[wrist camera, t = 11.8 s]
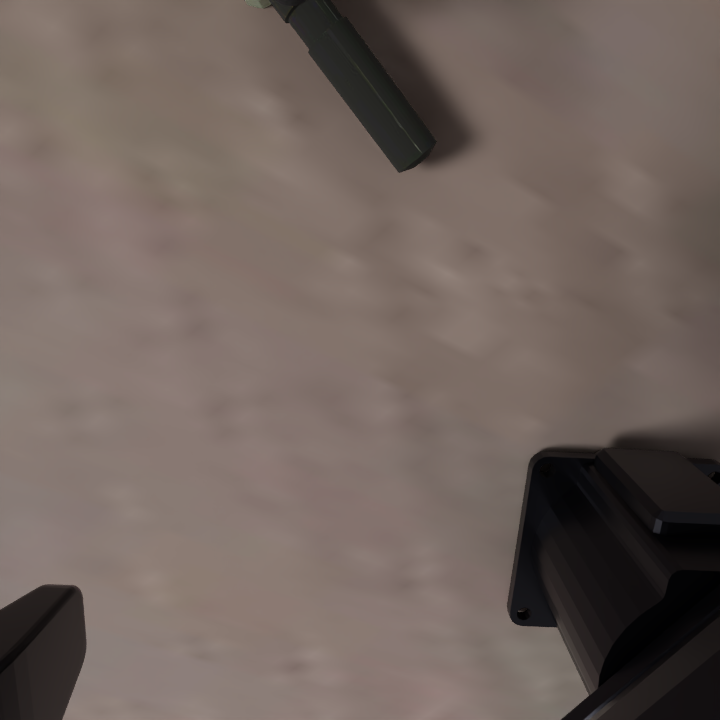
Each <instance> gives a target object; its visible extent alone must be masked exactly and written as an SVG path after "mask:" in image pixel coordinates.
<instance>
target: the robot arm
mask: <svg viewBox="0 0 720 720" xmlns="http://www.w3.org/2000/svg"><path fill="white" fill-rule="evenodd" d="M548 463H549V464H551V468H550V469H549V470H548V471H546V472H540V468H541V466H543V465H544V464H548ZM712 472H715V474H714V476H713V477H712V478H711V479H710V478H709V477H708V475H709V474H710V473H712ZM521 608H527V610H525V611H524V612H518V610H520V609H521ZM507 610H508V613H509V616H510V618H511V620H512V622H514V623H515V624H517V625H520V626H538V627H557V628H558V630H559V632H560V634H561V636H562V638H563V640H564V643H565V645H566V647H567V649H568V651H569V653H570V655H571V658H572V660H573V662H574V664H575V666H576V668H577V670H578V673H579V675H580V677H581V679H582V681H583V683H584V685H585V687H586V690H587V692H588V694H589V696H588V697H587V698H586V699H585V700H583V701H582V702H581V703H580V704H579V705H578V706H576V707H575V708H574V709H573V710H572V711H571V712H569V713H568V714H567V715H566V716H565V717H564V718H562V719H561V720H720V463H719V462H717V461H716V460H712V459H695V458H684V457H683V456H682V455H681V454H679V453H678V452H674V451H653V450H633V449H613V448H604V449H602V450H600V451H598V452H596V454H593V453H573V452H553V451H543V452H539V453H537V454H535V455H534V456H533V457H532V458H531V459H530V462H529V465H528V472H527V479H526V485H525V492H524V498H523V505H522V511H521V518H520V524H519V531H518V537H517V544H516V550H515V557H514V564H513V570H512V577H511V583H510V590H509V596H508V603H507ZM85 653H86V630H85V618H84V606H83V596H82V592H81V590H80V589H79V588H78V587H77V586H74V585H54V584H47V585H42V586H40V587H38V588H36V589H35V590H33V591H31V592H30V593H28V594H26V595H24V596H23V597H21V598H19V599H18V600H16V601H14V602H13V603H11V604H9V605H7V606H6V607H4V608H2V609H1V610H0V720H62V719H63V716H64V713H65V711H66V708H67V705H68V703H69V700H70V697H71V695H72V692H73V689H74V687H75V684H76V681H77V679H78V676H79V673H80V671H81V668H82V665H83V662H84V658H85Z"/></svg>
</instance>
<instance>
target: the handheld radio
mask: <svg viewBox="0 0 720 720" xmlns="http://www.w3.org/2000/svg"><path fill="white" fill-rule="evenodd" d="M244 1H245V2H246V3H247V5H250V6H253V7H257V8H266V7H267V6H269V5H271V4H272V5H273V7H274V8H275V9H276V11H277V12H278V13H279V15H280V16H281V17H282V19H283V20H284V21H285V22H286V23H290V24H291V26H292V27H293V28H294V30H295V31H296V32H297V34H298V35H299V36H300V38H301V39H302V40H303V42H304V43H305V44H306V46H307V47H308V48H309V52H308V53H309V54H310V56H311V57H312V58H313V60H314V61H315V62H316V64H317V65H318V66H319V68H320V69H321V70H322V72H323V73H324V74H325V76H326V77H327V78H328V80H329V81H330V82H331V84H332V85H333V86H334V87H335V89H336V90H337V91H338V93H339V94H340V95H341V97H342V98H343V99H344V101H345V102H346V103H347V105H348V106H349V107H350V109H351V110H352V111H353V113H354V114H355V115H356V117H357V118H358V119H359V121H360V122H361V123H362V125H363V126H364V127H365V129H366V130H367V131H368V133H369V134H370V135H371V137H372V138H373V139H374V141H375V142H376V143H377V144H378V146H379V147H380V148H381V150H382V151H383V152H384V154H385V155H386V156H387V158H388V159H389V160H390V162H391V163H392V164H393V166H394V167H395V168H396V170H397V171H398V172H399V173H400V172H403V171H406V170H409V169H412V168H414V167H415V166H417V165H418V164H419V163H420V162H422V161H423V160H424V159H425V158H426V157H427V156H428V155H429V154H430V152H431V150H432V149H433V147H434V145H435V144H436V142H437V141H436V140H435V139H434V137H433V136H432V134H431V133H430V132H429V130H428V129H427V128H426V126H425V125H424V123H423V122H422V121H421V119H420V118H419V116H418V115H417V114H416V112H415V111H414V110H413V108H412V107H411V105H410V104H409V103H408V101H407V100H406V99H405V97H404V96H403V94H402V93H401V92H400V90H399V89H398V88H397V86H396V85H395V83H394V82H393V81H392V79H391V78H390V77H389V75H388V74H387V72H386V71H385V70H384V68H383V67H382V66H381V64H380V63H379V61H378V60H377V59H376V57H375V56H374V55H373V53H372V52H371V50H370V49H369V48H368V46H367V45H366V44H365V42H364V41H363V39H362V38H361V37H360V35H359V34H358V33H357V31H356V30H355V28H354V27H353V26H352V24H351V23H350V22H349V20H348V19H347V17H342V16H341V14H340V13H339V12H338V10H337V9H336V7H335V6H334V5H333V3H332V2H331V1H330V0H244Z"/></svg>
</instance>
